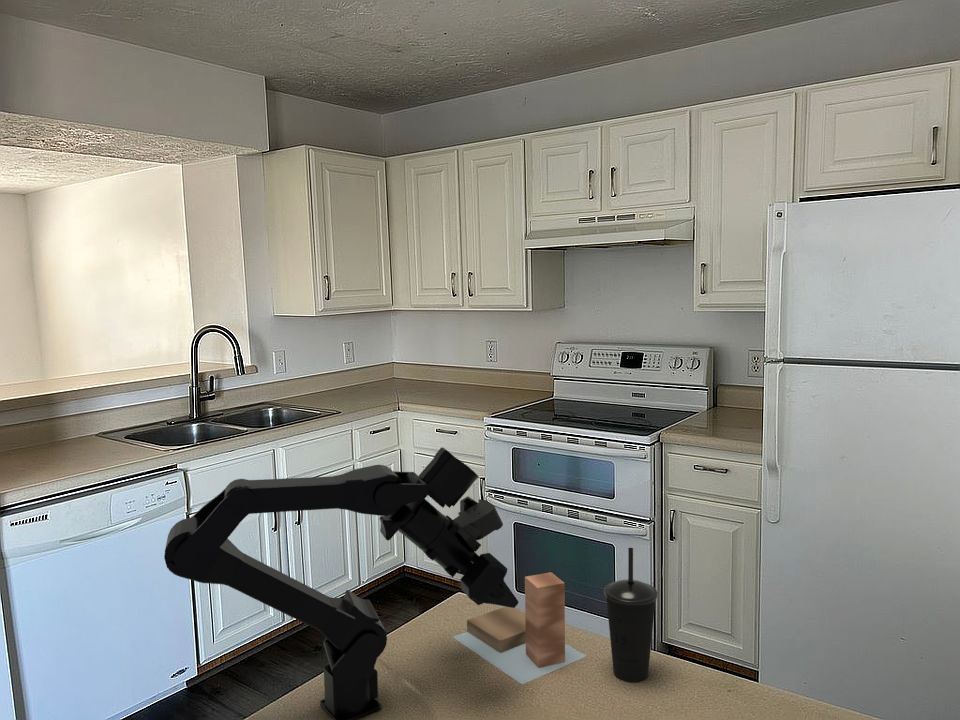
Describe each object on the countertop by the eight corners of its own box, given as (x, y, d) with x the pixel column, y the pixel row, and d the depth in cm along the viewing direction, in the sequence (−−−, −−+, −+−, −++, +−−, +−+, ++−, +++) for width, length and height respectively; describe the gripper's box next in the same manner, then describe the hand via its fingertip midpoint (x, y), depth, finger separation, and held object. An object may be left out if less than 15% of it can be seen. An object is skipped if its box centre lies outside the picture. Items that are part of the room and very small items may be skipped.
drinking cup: (612, 661, 111) (612, 536, 109) (662, 672, 108) (663, 543, 106) (597, 686, 105) (597, 553, 103) (650, 699, 101) (651, 561, 99)
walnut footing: (500, 652, 113) (500, 640, 113) (467, 631, 120) (466, 620, 120) (543, 635, 118) (543, 624, 118) (509, 616, 125) (509, 605, 125)
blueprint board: (522, 690, 104) (522, 684, 104) (452, 642, 118) (452, 636, 118) (587, 662, 111) (587, 655, 111) (514, 620, 126) (513, 614, 126)
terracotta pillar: (538, 668, 108) (537, 587, 107) (525, 654, 112) (524, 576, 111) (565, 662, 110) (564, 582, 108) (551, 648, 114) (551, 572, 113)
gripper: (492, 504, 95) (567, 571, 100) (447, 472, 112) (512, 530, 118) (436, 571, 93) (516, 636, 98) (399, 528, 110) (468, 585, 116)
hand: (503, 592), depth 107 cm, fingers open, 9 cm apart
